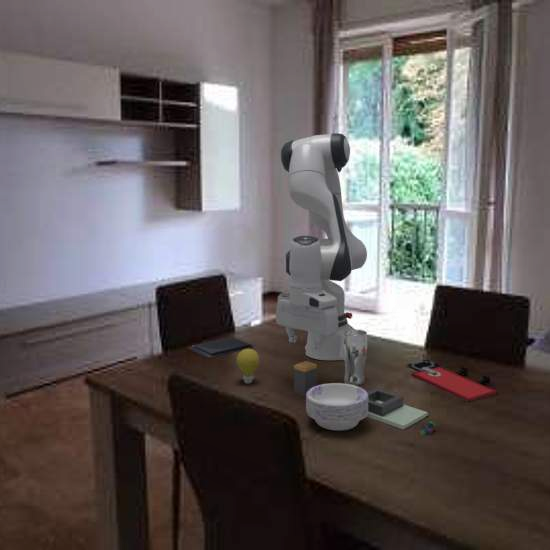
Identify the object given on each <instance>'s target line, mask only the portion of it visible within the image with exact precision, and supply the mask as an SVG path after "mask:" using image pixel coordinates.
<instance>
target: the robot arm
mask: <svg viewBox="0 0 550 550" xmlns="http://www.w3.org/2000/svg"><path fill="white" fill-rule="evenodd" d="M280 150H281V151H280V161H281V164H282V167H283V169H284V170H285V171H286V172H288V193H289V196H290V198H291V200H292V201H293V203H295V204H296V205H297V206H298V207H300V208H302V209H305V210H306V211H308V219H309V221H310V223H311V224H312V225H313V226H315V227H316V228H318V229H321V230H322V231H323V232H324V233H325V235H326V238H318V237H316V236H312V235H300V236H296V237H294V238H292V240H291V242H290V243H291V245H290V249H289V251H287V253H286V254H285V273H286V274H287V275H289V277H290V279H289V280H290V281H289V284H288V285H289V290H288V291H289V293H288V292H281V293H279V295H278V296H277V303H276V307H275V308H276V309H275V322H276V323H277V325H278V326H282V327H285V331H286V333H287V336H288V342H289V343H292V344H295V343H297V342H298V336H297V335H295V331H294V330H295V329H296V330H300V331H304V332H307V338H306V340H307V341H306V344H305V345H304V350H305V355H306V356H307V357H309V358H311V359H315V360H320V361H344V354H343V339H344V331H346V330H350V329H355V328H354V327H353V326H352V325H351V324H349V322H348V319H350V320H352V318H353V313H352V312H345V297H346V296H345V295H346V294H345V291H344V288H342V286H341V285H339V284H338V283H336V282H342V281H344V280H346V278H347V277H349V276H350V275H351V274H352V271H354V270H359V269H362V268H363V267H364V265H365V264H366V261H367V258H368V251H367V247H366V245H365V243H364V242H363V241H362V240H360V239H359V238H358V237H356V236H355V234H353V232H352V231H351V229H350V228H349V226H348V225H347V222H346V219H345V216H344V210H343V199H342V198H343V197H342V187H341V182H340V175H339V174H338V173H341V172H342V171H343V170H342V169H343V168H345V167H346V165H347V163H349V160H350V156H351V145H350V143H349V141H348V138H347V137H346V135H344V134H343V133H337V132H333V133H331V134H330V133H329V134H328V133H327V134H317V135H312V136H307V137H304V138H300V139H296V140H290V141H288V142H285V143H284V144H283V146H282V148H281V149H280ZM335 281H336V282H335Z"/></svg>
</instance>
